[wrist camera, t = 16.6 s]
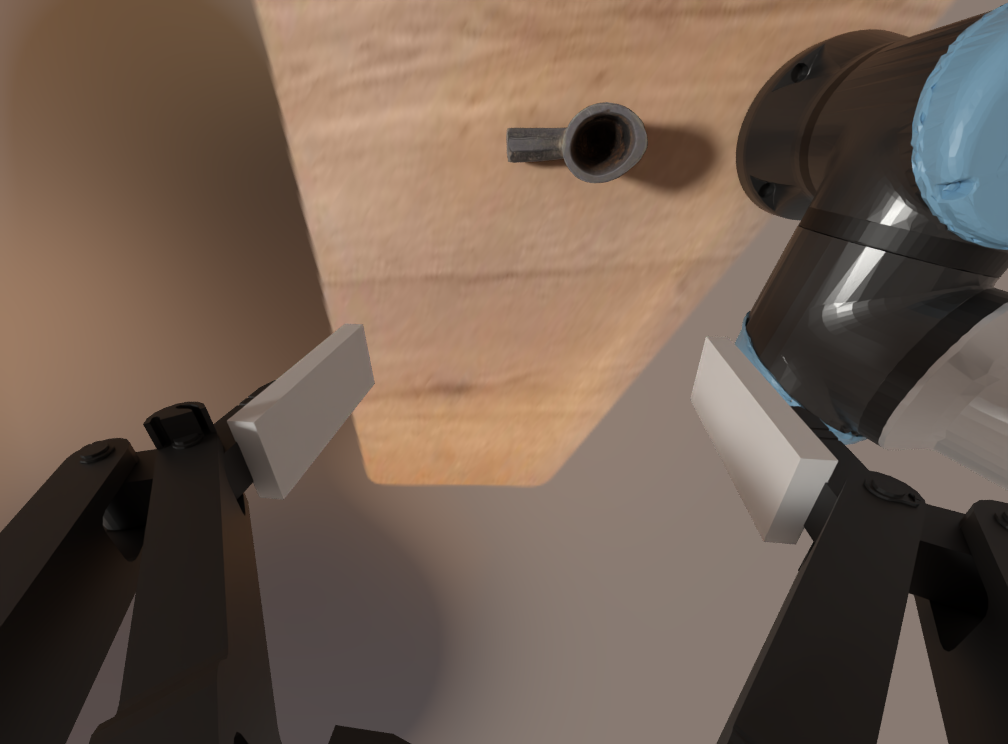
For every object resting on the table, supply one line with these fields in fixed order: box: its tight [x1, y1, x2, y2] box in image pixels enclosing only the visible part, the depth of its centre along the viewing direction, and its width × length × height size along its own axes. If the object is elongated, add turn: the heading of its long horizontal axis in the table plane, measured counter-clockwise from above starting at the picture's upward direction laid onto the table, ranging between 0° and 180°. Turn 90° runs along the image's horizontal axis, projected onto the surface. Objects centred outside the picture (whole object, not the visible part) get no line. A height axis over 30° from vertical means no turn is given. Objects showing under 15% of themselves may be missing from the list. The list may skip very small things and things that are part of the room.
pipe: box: [507, 102, 648, 183], centre depth 39 cm, size 6×13×8 cm, turn 92°
